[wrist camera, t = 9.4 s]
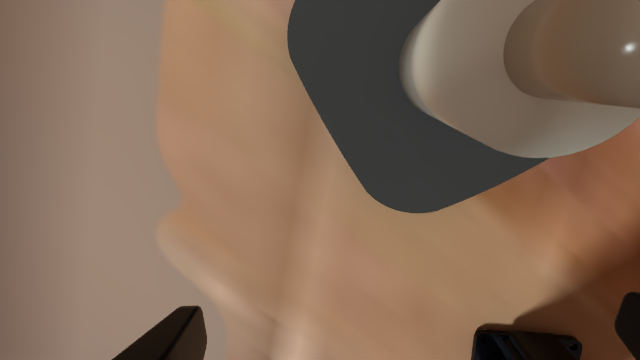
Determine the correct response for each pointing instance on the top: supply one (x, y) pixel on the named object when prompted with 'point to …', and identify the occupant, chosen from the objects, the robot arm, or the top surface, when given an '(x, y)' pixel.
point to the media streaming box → (386, 106)
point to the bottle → (527, 71)
